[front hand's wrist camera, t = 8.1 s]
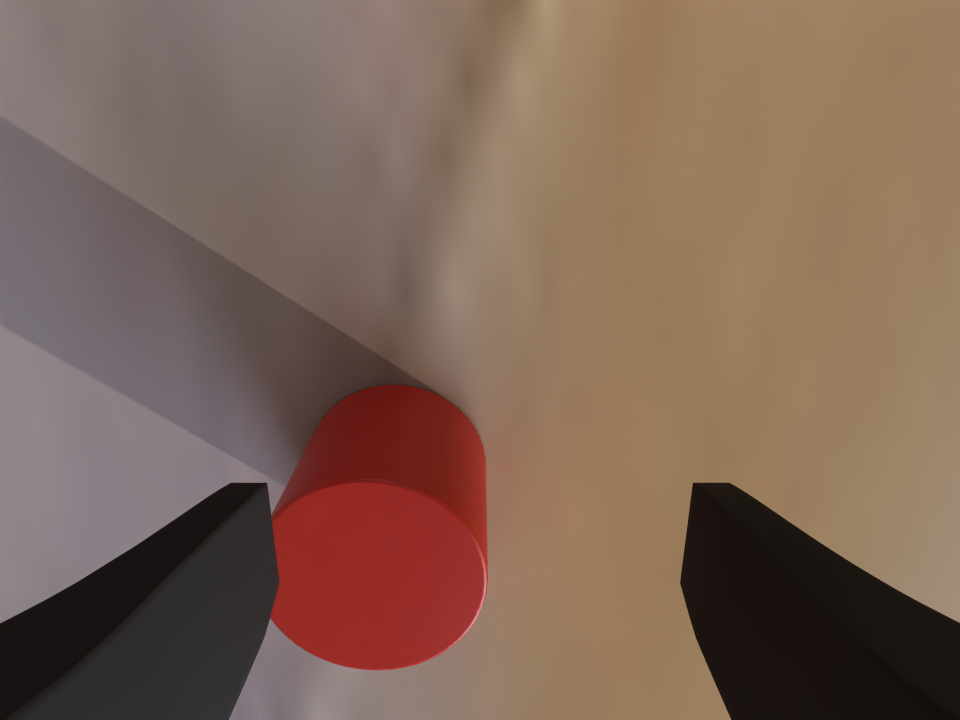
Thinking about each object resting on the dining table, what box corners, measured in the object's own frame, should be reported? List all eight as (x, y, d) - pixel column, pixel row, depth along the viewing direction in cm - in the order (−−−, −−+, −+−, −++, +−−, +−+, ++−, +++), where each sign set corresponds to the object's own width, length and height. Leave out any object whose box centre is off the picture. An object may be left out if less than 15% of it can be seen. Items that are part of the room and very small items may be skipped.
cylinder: (293, 393, 18) (227, 491, 13) (475, 374, 18) (473, 467, 13) (328, 546, 20) (281, 681, 15) (494, 530, 20) (499, 662, 15)
